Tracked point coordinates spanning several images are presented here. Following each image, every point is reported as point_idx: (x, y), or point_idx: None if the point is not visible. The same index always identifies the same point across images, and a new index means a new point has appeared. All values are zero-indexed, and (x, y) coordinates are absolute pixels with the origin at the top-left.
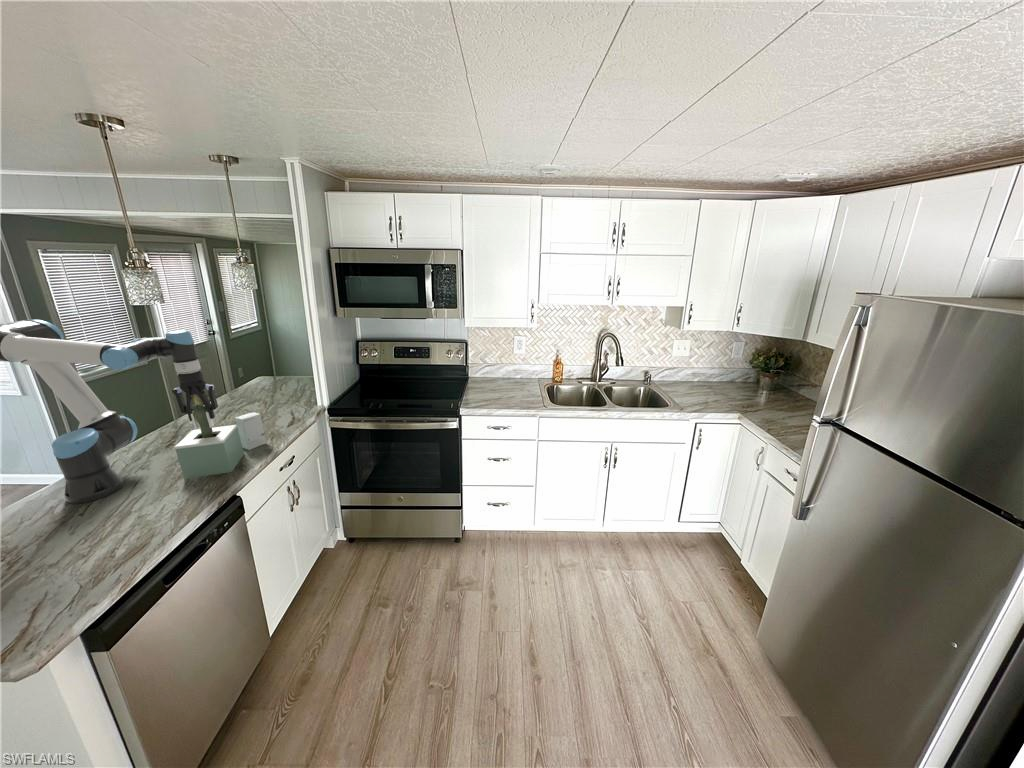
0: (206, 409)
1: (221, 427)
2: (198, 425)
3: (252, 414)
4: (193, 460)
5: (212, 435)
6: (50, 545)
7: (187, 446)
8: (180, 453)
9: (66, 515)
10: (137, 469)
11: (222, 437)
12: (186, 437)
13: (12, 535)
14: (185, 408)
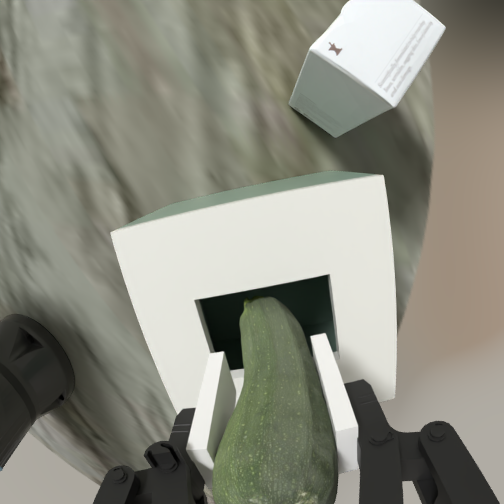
0: (337, 464)
1: (297, 212)
2: (226, 374)
3: (407, 22)
4: None
5: (288, 309)
6: None
7: None
8: None
9: (73, 431)
10: (18, 254)
11: (381, 369)
12: (158, 346)
13: (57, 454)
14: (128, 497)
